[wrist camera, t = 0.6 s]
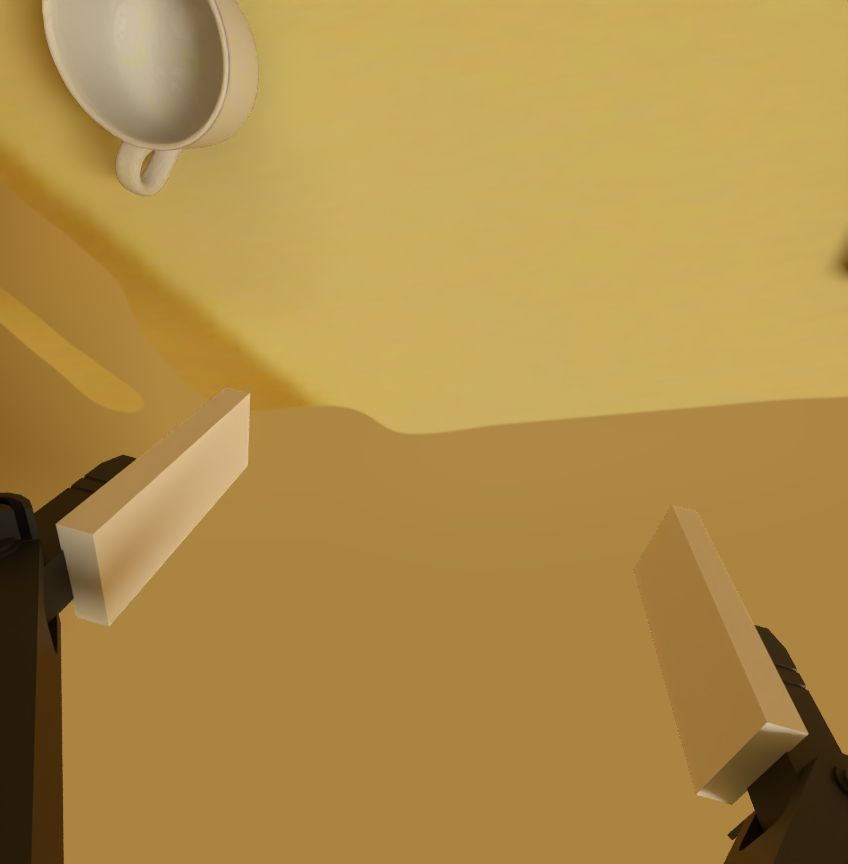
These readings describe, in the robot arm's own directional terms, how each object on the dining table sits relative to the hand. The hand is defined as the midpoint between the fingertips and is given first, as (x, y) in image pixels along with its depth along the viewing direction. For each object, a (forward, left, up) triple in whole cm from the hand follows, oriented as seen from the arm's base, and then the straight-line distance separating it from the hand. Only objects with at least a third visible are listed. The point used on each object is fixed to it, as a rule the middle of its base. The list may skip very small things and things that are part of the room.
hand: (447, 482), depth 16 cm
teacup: (-9, -24, -28) cm, 38 cm away
